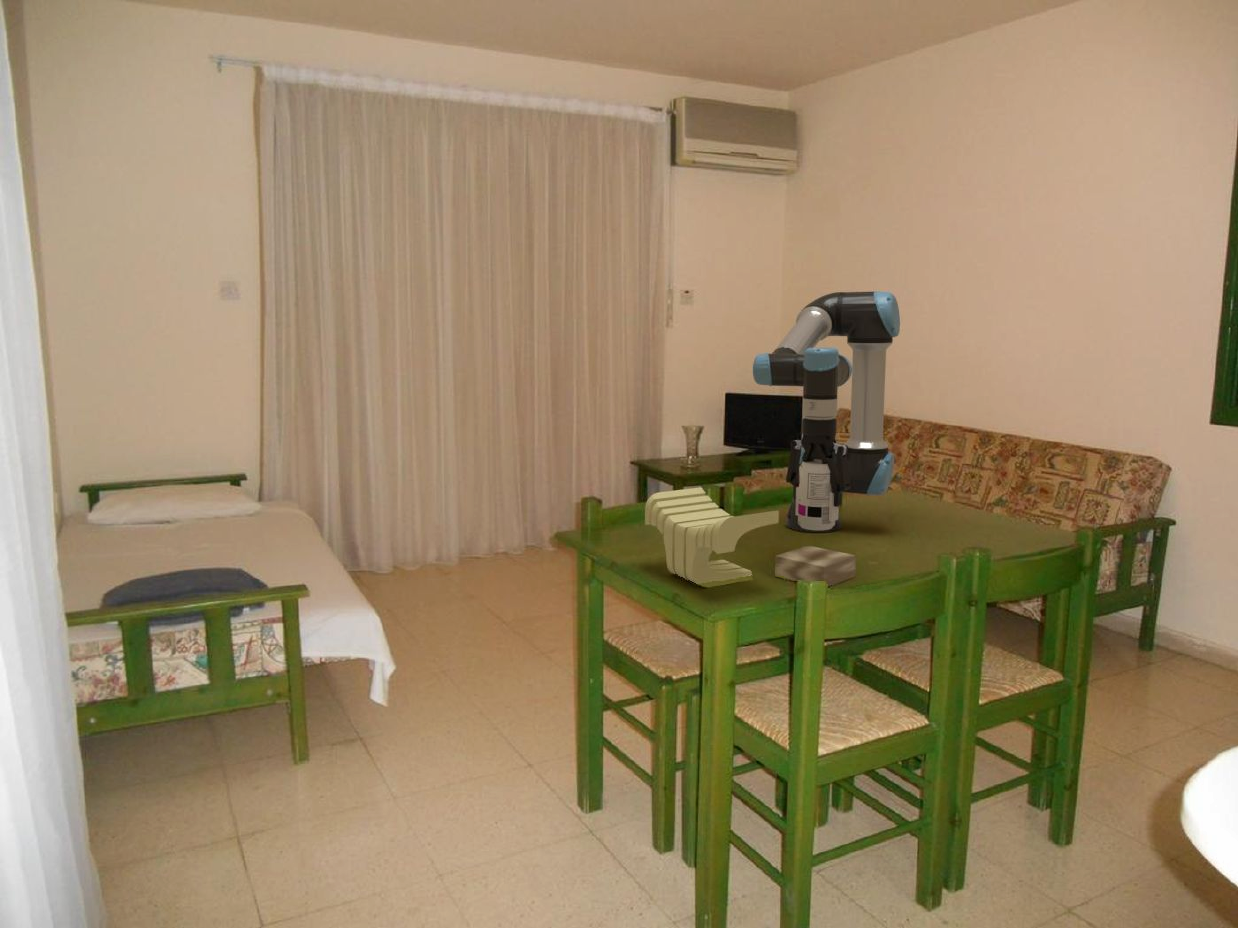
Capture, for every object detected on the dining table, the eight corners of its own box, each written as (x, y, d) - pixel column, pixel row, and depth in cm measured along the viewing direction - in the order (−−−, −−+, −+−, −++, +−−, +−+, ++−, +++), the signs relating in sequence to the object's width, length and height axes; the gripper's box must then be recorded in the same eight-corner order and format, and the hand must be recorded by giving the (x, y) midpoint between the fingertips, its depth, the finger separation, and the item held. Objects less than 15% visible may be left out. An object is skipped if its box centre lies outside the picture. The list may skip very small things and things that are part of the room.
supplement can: (790, 527, 209) (792, 461, 206) (811, 521, 214) (813, 457, 212) (821, 533, 203) (823, 466, 200) (841, 526, 209) (843, 461, 206)
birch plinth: (774, 577, 211) (775, 555, 210) (807, 565, 220) (807, 545, 219) (823, 588, 202) (824, 566, 201) (855, 576, 211) (855, 555, 210)
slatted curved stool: (645, 566, 220) (645, 494, 217) (700, 557, 227) (701, 487, 224) (716, 601, 194) (717, 518, 191) (777, 589, 201) (778, 510, 198)
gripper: (770, 415, 209) (768, 513, 213) (851, 422, 195) (848, 527, 198) (790, 412, 214) (787, 508, 218) (870, 419, 200) (866, 521, 203)
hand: (816, 517), depth 208 cm, fingers closed on supplement can, 8 cm apart
